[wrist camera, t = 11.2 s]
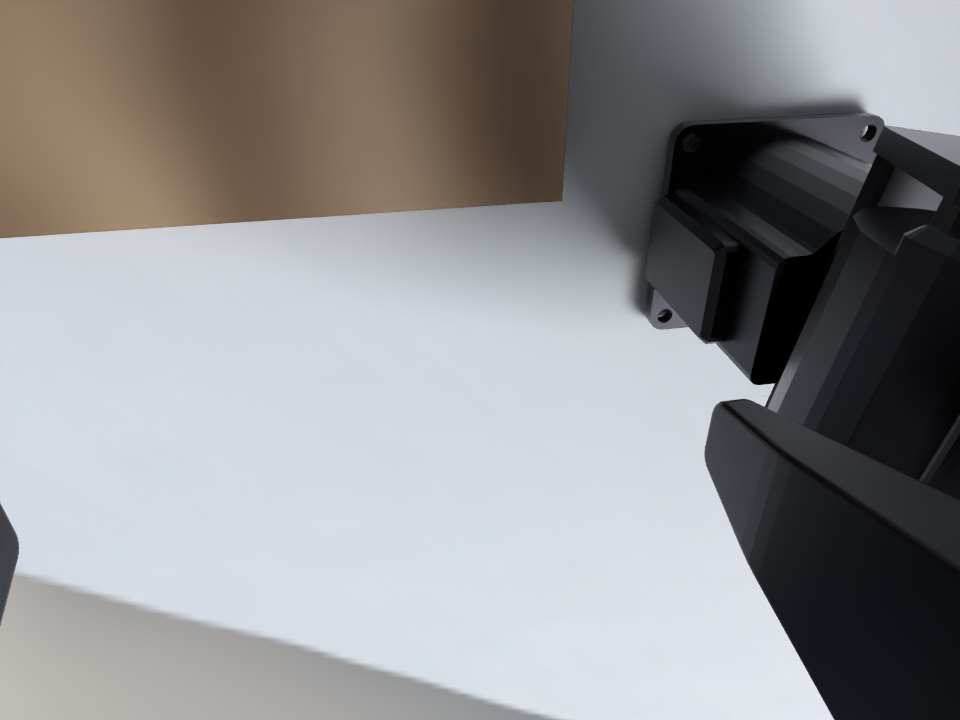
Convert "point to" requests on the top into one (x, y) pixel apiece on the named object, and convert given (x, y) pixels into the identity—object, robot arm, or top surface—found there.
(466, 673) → the top surface
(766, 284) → the robot arm
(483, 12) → the board
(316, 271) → the top surface
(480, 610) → the top surface
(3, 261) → the top surface
